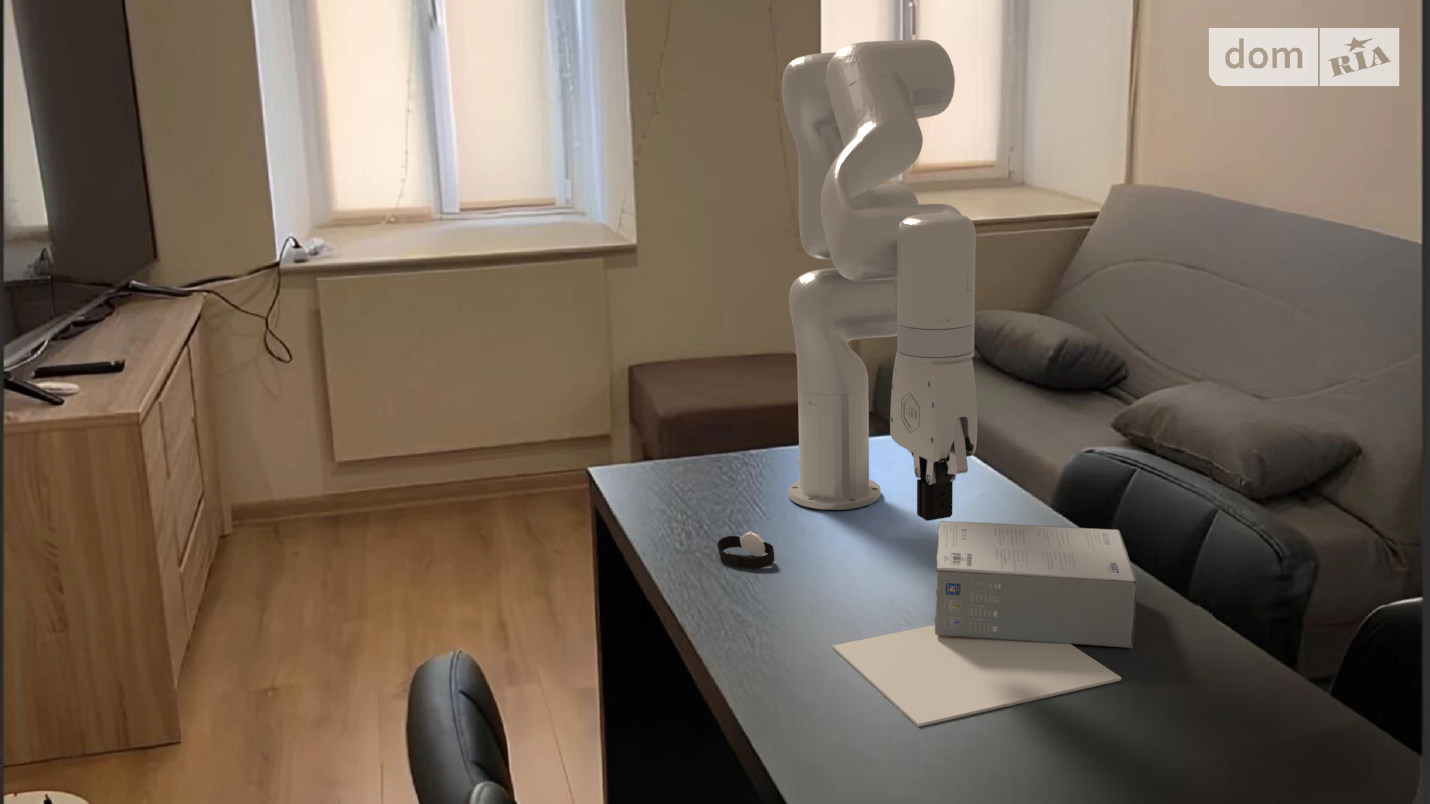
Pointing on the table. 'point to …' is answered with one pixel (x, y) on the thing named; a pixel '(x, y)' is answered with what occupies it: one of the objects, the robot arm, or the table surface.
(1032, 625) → the hard drive box
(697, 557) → the table surface
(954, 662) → the mat
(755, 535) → the watch
